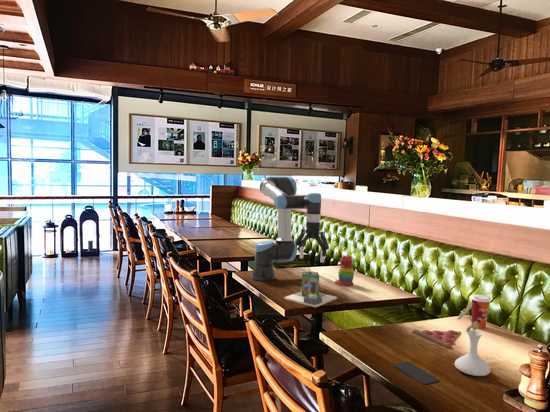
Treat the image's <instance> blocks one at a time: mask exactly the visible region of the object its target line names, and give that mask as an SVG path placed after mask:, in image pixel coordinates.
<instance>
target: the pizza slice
mask: <svg viewBox="0 0 550 412" xmlns="http://www.w3.org/2000/svg"><path fill="white" fill-rule="evenodd" d="M411 333H412V334H414V335H416V336H418V337H421V338H423V339H425V340H428V341H429V342H431V343H434V344H436V345H438V346H441V347H444V348H446V349H450V348H451V347H452V345H453V344H454V342H455V341H456V340H457V339H458V338H459V336H460V335H461V333H462V332H461V331H460V330H459V331H458V330H457V331H456V330H452V329H449V330H447V331H446V330H445V331H443V330H441V331H440V330H432V331H431V330H427V329H423V330H422V331H421V330H419V329H416V328H414V329H412V332H411Z"/></svg>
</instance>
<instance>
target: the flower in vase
mask: <svg viewBox="0 0 550 412" xmlns="http://www.w3.org/2000/svg"><path fill="white" fill-rule="evenodd" d="M472 304H473V303H472V301H470V302H468V303H467V305H466V308H463V310H462V312H461V313H460V314H459V315H458V317H457V318H456V319H457V320H459V321H460V320H461V319H463V318H464V317H465V316H466V315H468V317H469V318H470V322H471V325H469V327H467V328H466V330H465V332H466V333H467V335H468V338H469V351H468V353H466V354H464V355H462V356H459V357H458V358H457V359H455V361H454V366H455V367H456V369H457V370H459V371H461V372H462V373H464V374H467V375H470V376H475V377H484V376H488V375H489V374H490V373H491V371H492V370H491V367H490V366H489V364H488V363H487V362H486V361H485V360H484V359H483V358H481V356H479V354H478V344H479V340H480V339H481V337H482V336H483V333H482V332H481V331H478V330H480V329H479V324H478V322H477V321H475V322H474V323H473V322H472V315H470V311H469V310H470V309H472Z"/></svg>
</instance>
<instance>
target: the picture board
mask: <svg viewBox="0 0 550 412" xmlns="http://www.w3.org/2000/svg"><path fill="white" fill-rule="evenodd" d="M283 299H284V300H286V301H289V302H294V303H298V304H301V305H305V306H307V307H308V306H309V307H311V308H312V307H313V308H318V307H320V306H322V305H323V306H324V305H325V304H328V303H330V302H333V301H335V300H337V299H338V296H335V295H331V294H326V293H322V292H319V296H317V299H315V300H314V299H310V298H309V296H302V290H301V291H299V292H296V293H293V294H289V295H286V296H284V297H283ZM332 300H333V301H332Z"/></svg>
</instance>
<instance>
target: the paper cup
mask: <svg viewBox="0 0 550 412" xmlns="http://www.w3.org/2000/svg"><path fill="white" fill-rule="evenodd" d="M470 299H471V302H472V303H473V304H472V306H471V319H472V322H473V323H474V322H475V321H477V322H478V324H479V329H478V330H484V329H486V326H487V320H488V313H489V305H490V302H491V300H490V297H489V296H488V295H487V296H486V295H484V294H473V295H472V296H471V298H470ZM472 322H471V323H472Z"/></svg>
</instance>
